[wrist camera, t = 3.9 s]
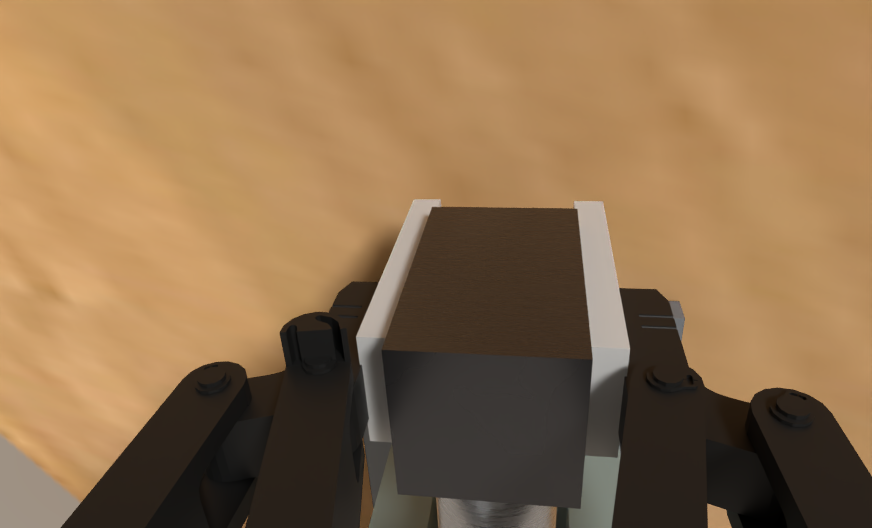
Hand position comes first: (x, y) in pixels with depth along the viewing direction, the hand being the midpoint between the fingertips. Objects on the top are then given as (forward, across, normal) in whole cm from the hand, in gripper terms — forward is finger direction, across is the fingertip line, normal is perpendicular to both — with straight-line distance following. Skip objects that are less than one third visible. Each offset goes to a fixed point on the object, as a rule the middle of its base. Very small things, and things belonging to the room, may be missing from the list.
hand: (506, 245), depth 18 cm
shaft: (-1, 0, -9) cm, 9 cm away
